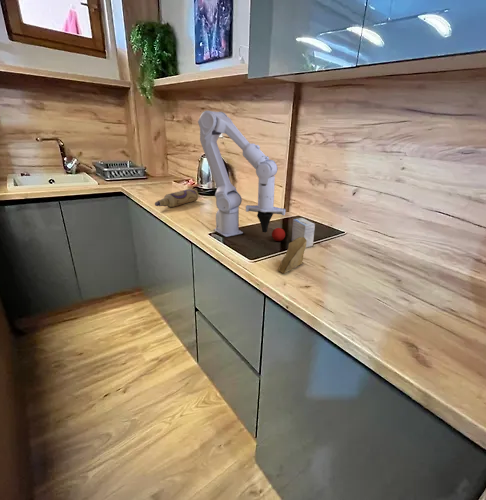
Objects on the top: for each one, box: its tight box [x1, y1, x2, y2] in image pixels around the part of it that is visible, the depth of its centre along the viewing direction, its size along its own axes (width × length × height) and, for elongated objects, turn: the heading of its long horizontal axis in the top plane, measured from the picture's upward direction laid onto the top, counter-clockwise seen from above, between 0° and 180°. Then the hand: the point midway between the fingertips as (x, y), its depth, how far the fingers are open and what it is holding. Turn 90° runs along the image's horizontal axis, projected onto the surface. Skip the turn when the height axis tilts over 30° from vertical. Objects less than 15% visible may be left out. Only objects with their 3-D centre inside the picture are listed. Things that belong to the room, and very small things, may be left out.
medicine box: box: [291, 217, 316, 248], centre depth 111 cm, size 8×4×9 cm, turn 29°
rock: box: [277, 237, 307, 274], centre depth 93 cm, size 11×9×10 cm
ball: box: [271, 227, 286, 242], centre depth 113 cm, size 5×5×5 cm
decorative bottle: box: [154, 188, 199, 208], centre depth 152 cm, size 26×8×7 cm, turn 149°
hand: (264, 231), depth 114 cm, fingers closed
